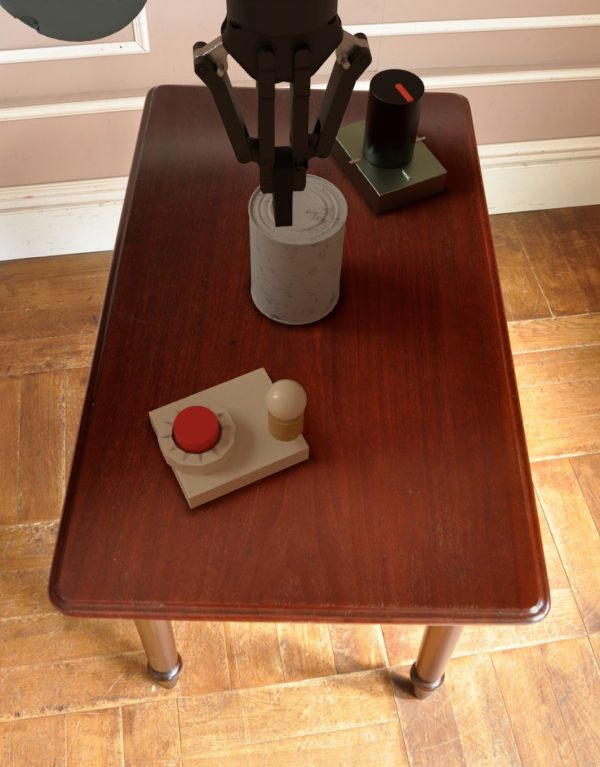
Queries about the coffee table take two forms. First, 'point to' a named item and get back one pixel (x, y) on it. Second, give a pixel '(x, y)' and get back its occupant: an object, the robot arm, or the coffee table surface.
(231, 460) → the beige button base
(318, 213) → the unlabeled tin can
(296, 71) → the robot arm
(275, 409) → the led lamp
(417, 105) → the dimmer knob
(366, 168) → the panel
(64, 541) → the coffee table surface
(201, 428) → the lamp button
